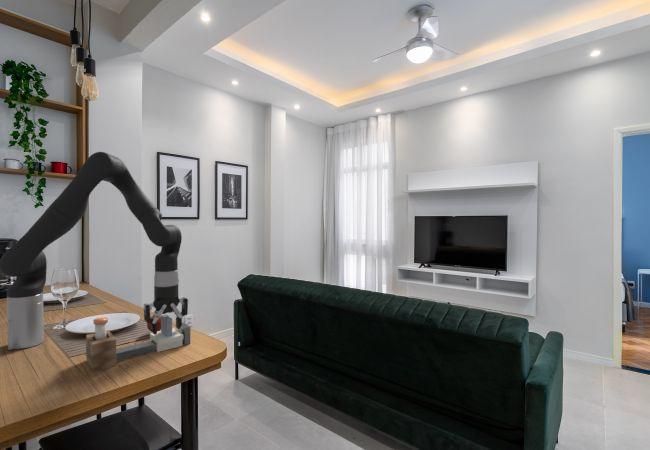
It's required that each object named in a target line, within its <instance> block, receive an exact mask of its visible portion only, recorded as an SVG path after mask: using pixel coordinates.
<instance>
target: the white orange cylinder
mask: <svg viewBox="0 0 650 450" xmlns="http://www.w3.org/2000/svg"><path fill="white" fill-rule="evenodd" d="M108 319H109V318H108V317H98V318H97V317H96V318H94V319H93V325H94V329H95V330H94V333H95V340H100V339H105V338H106V331H107V323H108Z"/></svg>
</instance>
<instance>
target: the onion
mask: <svg viewBox="0 0 650 450" xmlns="http://www.w3.org/2000/svg"><path fill="white" fill-rule="evenodd" d="M150 318H152V316H150ZM156 323H157V332H158V331H161V316H160V317H159V318H158V320H157V322H156ZM146 327H147V329H148V330H149V331H150V332H151V323H147V322H146Z"/></svg>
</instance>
